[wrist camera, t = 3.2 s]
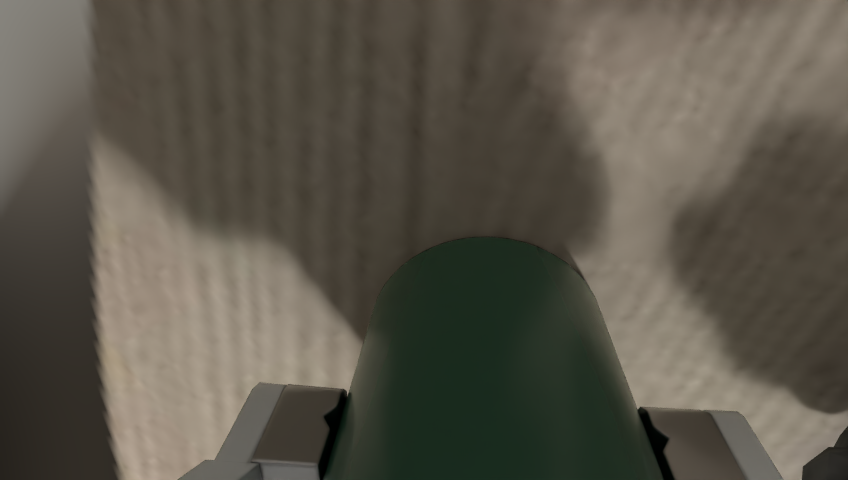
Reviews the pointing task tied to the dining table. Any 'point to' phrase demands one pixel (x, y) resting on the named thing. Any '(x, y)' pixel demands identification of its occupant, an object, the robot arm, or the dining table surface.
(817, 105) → the dining table surface
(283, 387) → the robot arm
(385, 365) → the tin
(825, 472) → the fruit
